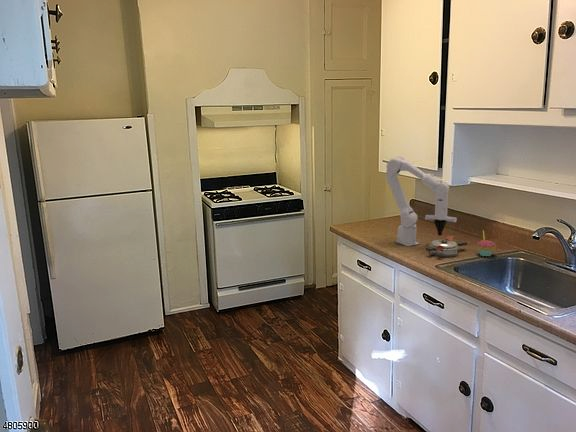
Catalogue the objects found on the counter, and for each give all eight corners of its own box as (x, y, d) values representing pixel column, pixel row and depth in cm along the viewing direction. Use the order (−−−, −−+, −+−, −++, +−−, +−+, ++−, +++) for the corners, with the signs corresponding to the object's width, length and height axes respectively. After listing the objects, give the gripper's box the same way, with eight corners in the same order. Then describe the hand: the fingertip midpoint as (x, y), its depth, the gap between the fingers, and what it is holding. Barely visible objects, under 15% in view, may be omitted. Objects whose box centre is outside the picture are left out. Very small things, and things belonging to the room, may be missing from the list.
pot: (418, 252, 230) (418, 244, 230) (455, 246, 239) (455, 238, 239) (436, 260, 219) (437, 251, 218) (474, 253, 228) (475, 244, 227)
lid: (451, 251, 217) (452, 248, 216) (426, 248, 222) (426, 244, 222) (462, 239, 236) (462, 235, 235) (438, 236, 241) (439, 233, 241)
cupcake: (472, 255, 225) (474, 230, 222) (480, 251, 231) (482, 226, 228) (490, 259, 219) (492, 233, 216) (498, 254, 225) (500, 229, 222)
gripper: (423, 208, 234) (422, 235, 237) (455, 210, 227) (453, 238, 230) (427, 205, 240) (426, 231, 243) (458, 207, 233) (456, 235, 236)
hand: (440, 235), depth 237 cm, fingers closed
